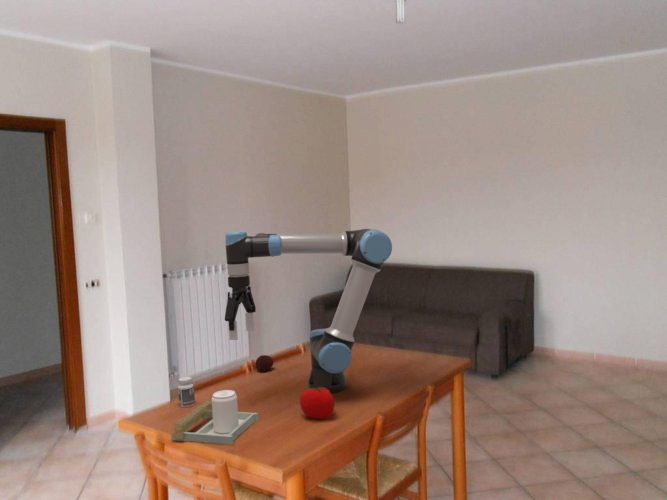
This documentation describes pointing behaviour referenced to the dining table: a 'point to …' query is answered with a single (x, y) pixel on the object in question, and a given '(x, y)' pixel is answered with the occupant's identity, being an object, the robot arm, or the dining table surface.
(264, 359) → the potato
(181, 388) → the pill bottle
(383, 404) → the dining table surface
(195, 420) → the bar
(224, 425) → the grey cylindrical container
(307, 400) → the tomato
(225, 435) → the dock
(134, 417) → the dining table surface
